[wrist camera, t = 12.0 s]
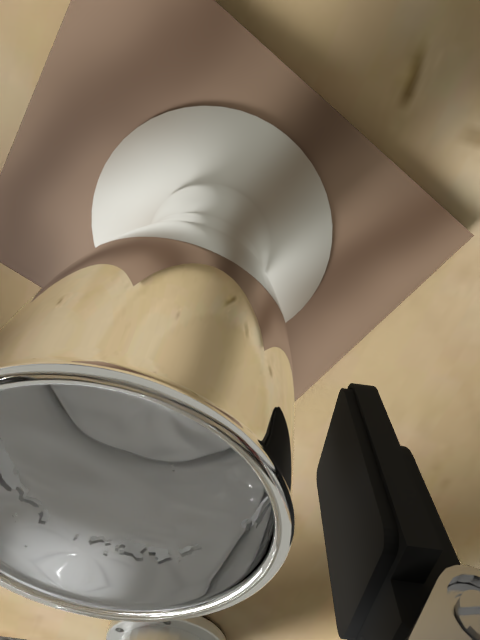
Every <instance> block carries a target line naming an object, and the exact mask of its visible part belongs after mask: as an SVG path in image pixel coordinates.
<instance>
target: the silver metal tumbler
mask: <svg viewBox="0 0 480 640" xmlns="http://www.w3.org/2000/svg"><path fill="white" fill-rule="evenodd" d="M270 253H271V237H270V232H269V228H268V225H267V223H266V220H265V218H264V216H263V215H262V213H261V212H260V210H259V209H258V207H257V206H256V205H255V204H254V203H253V202H252V201H251V200H250V199H249V198H248V197H246V196H245V195H244V194H242V193H240V192H239V191H237V190H235V189H233V188H230V187H228V186H225V185H221V184H215V183H198V184H193V185H189V186H186V187H184V188H182V189H180V190H178V191H176V192H175V193H173V194H172V195H170V196H169V197H168V198H167V199H166V200H165V201H164V202H163V203H162V204H161V205H160V207H159V208H158V210H157V211H156V213H155V214H154V216H153V219H152V221H151V224H149V225H146V226H143V227H140V228H137V229H134V230H131V231H129V232H126V233H124V234H122V235H120V236H118V237H116V238H114V239H112V240H110V241H107V242H105V243H103V244H101V245H99V246H97V247H96V248H94V249H92V250H91V251H89V252H88V253H86V254H85V255H84V256H82V257H81V258H79V259H78V260H77V261H75V262H74V263H73V264H71V265H70V266H68V267H67V268H66V269H64V270H63V271H62V272H60V273H59V274H58V275H57V276H55V277H54V278H53V279H52V280H51V281H50V282H49V283H48V284H47V285H45V286H44V287H43V288H42V289H41V290H40V291H39V292H38V293H37V294H36V295H34V296H33V297H32V298H31V299H30V300H29V301H28V302H27V303H26V304H25V305H24V306H23V307H22V308H21V309H20V310H19V311H18V312H17V313H16V314H15V315H14V316H13V317H12V318H11V319H10V320H9V321H8V322H7V323H6V324H5V325H4V326H3V327H2V328H1V329H0V586H2V587H4V588H6V589H8V590H10V591H12V592H14V593H16V594H18V595H21V596H23V597H25V598H28V599H30V600H33V601H35V602H38V603H41V604H44V605H47V606H50V607H53V608H56V609H60V610H63V611H67V612H71V613H75V614H79V615H84V616H89V617H94V618H101V619H108V620H116V621H128V622H164V621H175V620H183V619H189V618H194V617H199V616H203V615H207V614H211V613H214V612H218V611H221V610H223V609H226V608H229V607H231V606H233V605H235V604H238V603H240V602H242V601H244V600H245V599H247V598H249V597H250V596H252V595H253V594H255V593H256V592H258V591H259V590H260V589H262V588H263V587H264V586H265V585H266V584H267V583H268V582H269V581H270V580H271V579H272V578H273V577H274V576H275V575H276V574H277V572H278V571H279V570H280V568H281V567H282V565H283V564H284V562H285V560H286V558H287V556H288V554H289V551H290V548H291V545H292V541H293V536H294V526H295V520H294V509H293V502H292V495H293V460H294V422H295V400H294V380H293V364H292V357H291V351H290V345H289V338H288V332H287V327H286V323H285V320H284V316H283V313H282V311H281V308H280V305H279V302H278V299H277V296H276V293H275V291H274V289H273V287H272V285H271V282H270V280H269V278H268V276H267V274H266V272H265V270H266V268H267V265H268V262H269V258H270Z"/></svg>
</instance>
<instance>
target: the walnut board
mask: <svg viewBox="0 0 480 640" xmlns="http://www.w3.org/2000/svg"><path fill="white" fill-rule="evenodd" d="M198 183H215V184H221V185H225V186H228V187H230V188H233V189H235V190H237V191H239V192H240V193H242V194H244V195H245V196H246V197H248V198H249V199H250V200H251V201H252V202H253V203H254V204H255V205H256V206H257V207H258V209H259V210H260V212H261V213H262V215H263V216H264V218H265V220H266V223H267V225H268V228H269V232H270V237H271V253H270V258H269V262H268V265H267V268H266V270H265V272H266V274H267V276H268V278H269V280H270V282H271V285H272V287H273V289H274V291H275V293H276V296H277V299H278V302H279V305H280V308H281V311H282V313H283V316H284V320H285V323H286V327H287V332H288V338H289V345H290V351H291V357H292V364H293V380H294V400H295V401H296V400H297V399H298V398H299V397H300V396H301V395H303V394H304V393H305V392H306V391H307V390H308V389H309V388H310V387H311V386H312V385H313V384H314V383H315V382H317V381H318V380H319V379H320V378H321V377H322V376H323V375H324V374H325V373H326V372H327V371H328V370H329V369H331V368H332V367H333V366H334V365H335V364H336V363H337V362H338V361H339V360H340V359H341V358H342V357H343V356H345V355H346V354H347V353H348V352H349V351H350V350H351V349H352V348H353V347H354V346H355V345H356V344H357V343H359V342H360V341H361V340H362V339H363V338H364V337H365V336H366V335H367V334H368V333H369V332H370V331H371V330H373V329H374V328H375V327H376V326H377V325H378V324H379V323H380V322H381V321H382V320H383V319H384V318H386V317H387V316H388V315H389V314H390V313H391V312H392V311H393V310H394V309H395V308H396V307H397V306H398V305H400V304H401V303H402V302H403V301H404V300H405V299H406V298H407V297H408V296H409V295H410V294H411V293H412V292H414V291H415V290H416V289H417V288H418V287H419V286H420V285H421V284H422V283H423V282H424V281H425V280H426V279H428V278H429V277H430V276H431V275H432V274H433V273H434V272H435V271H436V270H437V269H438V268H439V267H440V266H442V265H443V264H444V263H445V262H446V261H447V260H448V259H449V258H450V257H451V256H452V255H453V254H454V253H456V252H457V251H458V250H459V249H460V248H461V247H462V246H463V245H464V244H465V243H466V242H467V241H469V240H470V239H471V238H472V237H473V236H474V235H473V234H472V233H471V232H470V231H469V230H467V229H466V228H465V227H464V226H463V225H462V224H461V223H460V222H459V221H457V220H456V219H455V218H454V217H453V216H452V215H451V214H450V213H449V212H448V211H446V210H445V209H444V208H443V207H442V206H441V205H440V204H439V203H438V202H437V201H435V200H434V199H433V198H432V197H431V196H430V195H429V194H428V193H427V192H425V191H424V190H423V189H422V188H421V187H420V186H419V185H418V184H417V183H416V182H414V181H413V180H412V179H411V178H410V177H409V176H408V175H407V174H406V173H405V172H403V171H402V170H401V169H400V168H399V167H398V166H397V165H396V164H395V163H393V162H392V161H391V160H390V159H389V158H388V157H387V156H386V155H385V154H384V153H382V152H381V151H380V150H379V149H378V148H377V147H376V146H375V145H374V144H373V143H371V142H370V141H369V140H368V139H367V138H366V137H365V136H364V135H363V134H361V133H360V132H359V131H358V130H357V129H356V128H355V127H354V126H353V125H352V124H350V123H349V122H348V121H347V120H346V119H345V118H344V117H343V116H342V115H340V114H339V113H338V112H337V111H336V110H335V109H334V108H333V107H332V106H331V105H329V104H328V103H327V102H326V101H325V100H324V99H323V98H322V97H321V96H320V95H318V94H317V93H316V92H315V91H314V90H313V89H312V88H311V87H310V86H308V85H307V84H306V83H305V82H304V81H303V80H302V79H301V78H300V77H299V76H297V75H296V74H295V73H294V72H293V71H292V70H291V69H290V68H289V67H288V66H286V65H285V64H284V63H283V62H282V61H281V60H280V59H279V58H278V57H276V56H275V55H274V54H273V53H272V52H271V51H270V50H269V49H268V48H267V47H265V46H264V45H263V44H262V43H261V42H260V41H259V40H258V39H257V38H256V37H254V36H253V35H252V34H251V33H250V32H249V31H248V30H247V29H246V28H244V27H243V26H242V25H241V24H240V23H239V22H238V21H237V20H236V19H235V18H233V17H232V16H231V15H230V14H229V13H228V12H227V11H226V10H225V9H224V8H222V7H221V6H220V5H219V4H218V3H217V2H216V1H215V0H71V2H70V4H69V7H68V9H67V12H66V14H65V16H64V19H63V21H62V24H61V26H60V29H59V31H58V34H57V36H56V39H55V41H54V44H53V46H52V48H51V51H50V53H49V56H48V58H47V61H46V63H45V66H44V68H43V71H42V73H41V76H40V78H39V81H38V83H37V85H36V88H35V90H34V93H33V95H32V98H31V100H30V103H29V105H28V108H27V110H26V113H25V115H24V117H23V120H22V122H21V125H20V127H19V130H18V132H17V135H16V137H15V140H14V142H13V145H12V147H11V149H10V152H9V154H8V157H7V159H6V162H5V164H4V167H3V169H2V172H1V174H0V262H1V263H2V264H4V265H6V266H7V267H9V268H10V269H12V270H14V271H15V272H17V273H19V274H20V275H22V276H24V277H25V278H27V279H28V280H30V281H32V282H33V283H35V284H37V285H38V286H40V287H41V288H43V287H44V286H45V285H47V284H48V283H49V282H50V281H51V280H52V279H53V278H54V277H55V276H57V275H58V274H59V273H60V272H62V271H63V270H64V269H66V268H67V267H68V266H70V265H71V264H73V263H74V262H75V261H77V260H78V259H79V258H81V257H82V256H84V255H85V254H86V253H88V252H89V251H91V250H92V249H94V248H96V247H97V246H99V245H101V244H103V243H105V242H107V241H110V240H112V239H114V238H116V237H118V236H120V235H122V234H124V233H126V232H129V231H131V230H134V229H137V228H140V227H143V226H146V225H149V224H151V221H152V219H153V216H154V214H155V213H156V211H157V210H158V208H159V207H160V205H161V204H162V203H163V202H164V201H165V200H166V199H167V198H168V197H169V196H170V195H172V194H173V193H175V192H176V191H178V190H180V189H182V188H184V187H186V186H189V185H193V184H198Z"/></svg>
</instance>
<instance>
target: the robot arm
mask: <svg viewBox="0 0 480 640" xmlns="http://www.w3.org/2000/svg"><path fill="white" fill-rule="evenodd" d="M317 488H318V495H319V502H320V509H321V517H322V524H323V531H324V538H325V545H326V552H327V559H328V567H329V574H330V581H331V588H332V595H333V602H334V609H335V616H336V624H337V630H338V634H339V636H340V638H341V639H347V640H480V569H478V568H475V567H472V566H469V565H460V562H459V560H458V558H457V556H456V553H455V551H454V549H453V546H452V544H451V542H450V540H449V537H448V535H447V533H446V530H445V528H444V526H443V524H442V521H441V519H440V517H439V514H438V512H437V510H436V507H435V505H434V503H433V501H432V498H431V496H430V494H429V491H428V489H427V487H426V485H425V482H424V480H423V478H422V475H421V473H420V471H419V469H418V466H417V464H416V462H415V459H414V457H413V455H412V453H411V452H410V450H409V449H408V448H407V447H404V446H400V444H399V441H398V439H397V437H396V434H395V432H394V429H393V427H392V424H391V422H390V420H389V417H388V415H387V412H386V410H385V407H384V405H383V403H382V400H381V398H380V395H379V393H378V390H377V389H376V387H374V386H368V385H361V384H353V383H351V384H350V385H349V386H348V389H344V388H342V389H341V390H340V392H339V395H338V399H337V402H336V405H335V409H334V412H333V416H332V419H331V423H330V426H329V430H328V433H327V437H326V440H325V444H324V447H323V451H322V454H321V458H320V461H319V464H318V468H317ZM0 640H25V639H18V638H10V637H2V636H0ZM106 640H226V639H225V636H224V634H223V633H222V632H221V630H220V629H219V628H218V627H217V626H216V625H215V624H213V623H212V622H210V621H209V620H207V619H205V618H204V617H201V616H199V617H194V618H189V619H183V620H175V621H164V622H128V621H116V620H113V621H112V622H111V623H110V626H109V629H108V632H107V636H106Z"/></svg>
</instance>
